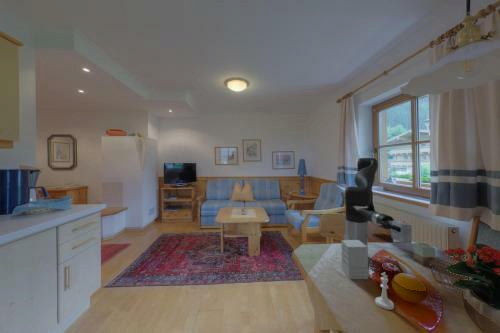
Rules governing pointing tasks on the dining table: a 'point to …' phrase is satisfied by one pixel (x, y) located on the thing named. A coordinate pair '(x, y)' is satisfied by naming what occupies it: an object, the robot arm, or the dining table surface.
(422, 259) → the tower base block
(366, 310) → the dining table surface
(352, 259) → the supplement box
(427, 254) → the tower top block
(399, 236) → the medicine box
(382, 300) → the chess piece
